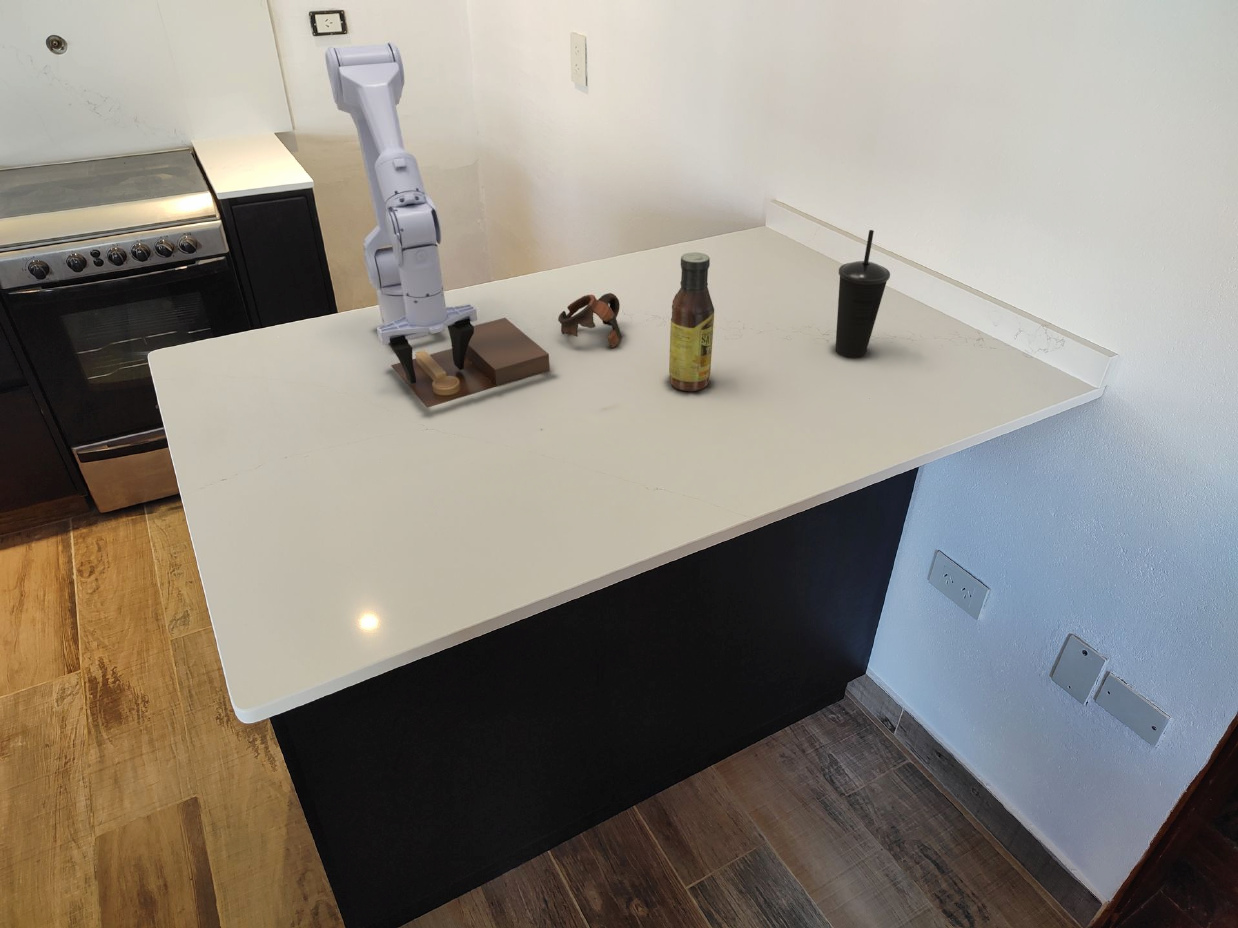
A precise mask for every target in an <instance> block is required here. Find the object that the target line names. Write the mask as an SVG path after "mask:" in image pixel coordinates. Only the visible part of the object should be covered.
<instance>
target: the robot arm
mask: <svg viewBox="0 0 1238 928" xmlns="http://www.w3.org/2000/svg"><path fill="white" fill-rule="evenodd" d="M324 57H325V65H326V70H327V75H328V80H329V84H330V88H331V93H332V97H333V101H334V103H335V105H336V109H337V110H338V111H341V112H345V113H348V114H349V115H350V117H351V120H352V121H353V122H354V126H355V128H356V132H357V136H358V141H359V146H360V151H361V156H362V160H363V161H362V162H363V165H364V170H365V171H364V172H365V175H366V179H367V185H368V190H369V194H370V199H371V204H372V209H373V213H374V218H375V223H376V226H375V227H374V228H373V229H372V231H370V233H368V235H367V236H366V237H365V238H364V239H363V244H362V248H363V253H364V254H363V255H364V265H365V268H366V273H367V277H368V281H369V283H370V286H371V287H372V288H373V289H374V290H376V296H377V302H378V309H379V313H380V319H381V324H382V325H381V326H377V327H376V332H377V337H378V340H379V342H380V343H381V344H382V345H389V347H390V348H391V349H392V351H393V353H394V354H395V356H396V357H397V359H398V361H399V363H401V364H402V367H403V369H404V371H405V374H406V377H407V379H408V380H409V381H410V383H411V384H413V383H416V376H415V371H414V367H413V359H414V357H413V347H412V345H411V344H410V343H409V341H411V340H416V339H421V338H423V337H425V336H427V335H428V334H437V333H442V332H444V331H445V327H447V330H448V334H449V338H450V343H451V349H452V353H453V360H454V365H455V366H456V367H457V368H458V369H459V370H462V369H464V361H465V357H466V356H465V355H466V351H467V347H468V344H469V342H470V339H471V337H472V335H473V334H474V326H475V325H473V324H472V322H477V321H478V316H477V315H478V314H477V308H476V307H474V306H473V304H471V303H469V304H464V305H456V306H447V304H446V299H445V298H446V296H445V289H444V283H443V276H442V275H443V274H442V268H441V260H440V254H439V246H438V245H440V244H441V243H442V229H441V221H440V218H439V214H438V211H437V209H436V206H435V203H434V202H433V200H432V198H431V195H430V193H427V192H426V189H425V185H424V182H423V179H422V178H423V177H422V175H421V172H420V169H419V164H418V162H417V161H418V160H417V159H416V157H415V156H414V155H413V154H412V153H410V152H409V151H407V150H406V149H405V146H404V141H403V136H402V135H403V134H402V131H401V125H400V120H399V115H398V109H397V106H398V105H399V104H400V100H401V99H402V94H403V89H404V86H405V70H404V64H403V60H402V59H403V58H402V55H401V53H400V50H399V47H398V46H397V45H396V44H395V43H394V42H387V43H380V44H370V45H367V44H366V45H354V46H343V47H341V46H340V47H333V46H329V47H327V50H326V51H325V53H324ZM387 246H388V247H387Z"/></svg>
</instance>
